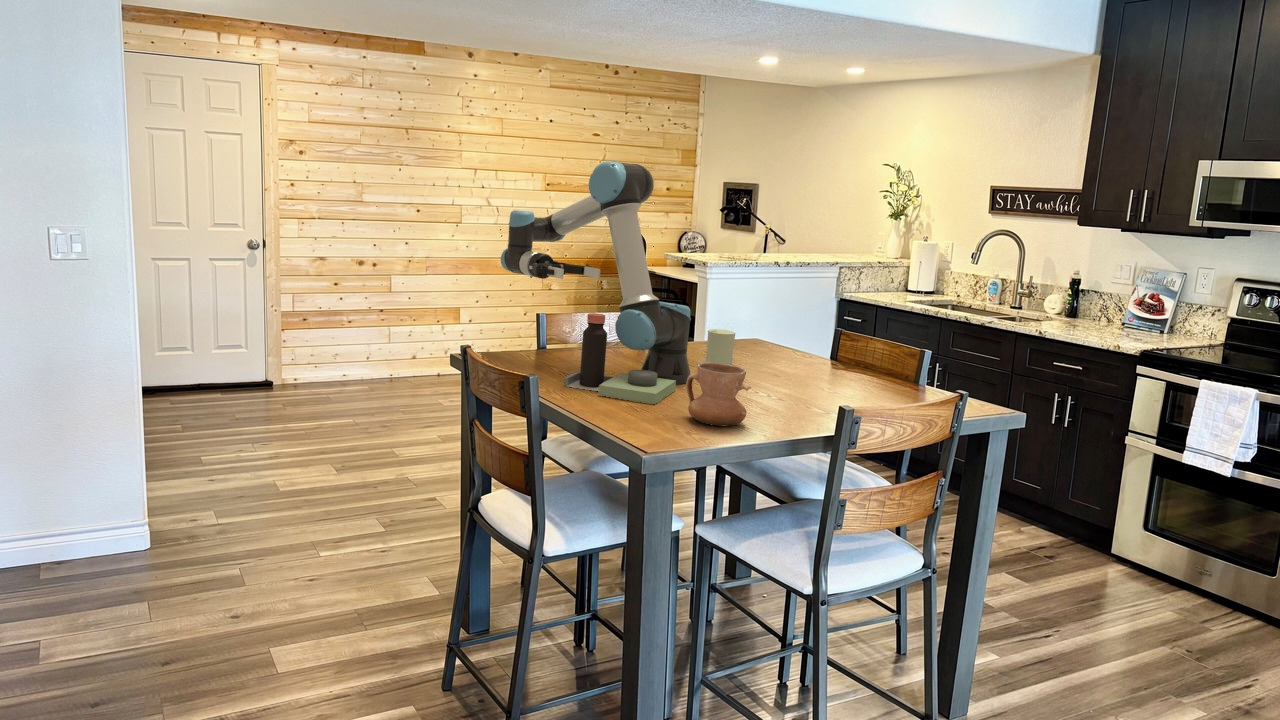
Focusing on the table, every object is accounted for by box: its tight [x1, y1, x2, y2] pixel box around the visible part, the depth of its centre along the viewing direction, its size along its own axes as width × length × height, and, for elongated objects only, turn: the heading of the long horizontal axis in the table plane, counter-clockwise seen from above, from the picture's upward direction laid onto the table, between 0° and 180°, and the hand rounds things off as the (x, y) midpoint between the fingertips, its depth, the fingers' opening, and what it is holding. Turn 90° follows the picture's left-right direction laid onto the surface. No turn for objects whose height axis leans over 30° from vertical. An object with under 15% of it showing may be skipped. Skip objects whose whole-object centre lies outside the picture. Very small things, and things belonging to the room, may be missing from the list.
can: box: [704, 328, 736, 366], centre depth 306 cm, size 9×9×12 cm
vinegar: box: [579, 312, 608, 387], centre depth 258 cm, size 7×7×20 cm
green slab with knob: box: [563, 369, 677, 405], centre depth 257 cm, size 20×28×6 cm
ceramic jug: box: [685, 362, 752, 426], centre depth 231 cm, size 18×14×14 cm
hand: (581, 273), depth 267 cm, fingers open, 13 cm apart
